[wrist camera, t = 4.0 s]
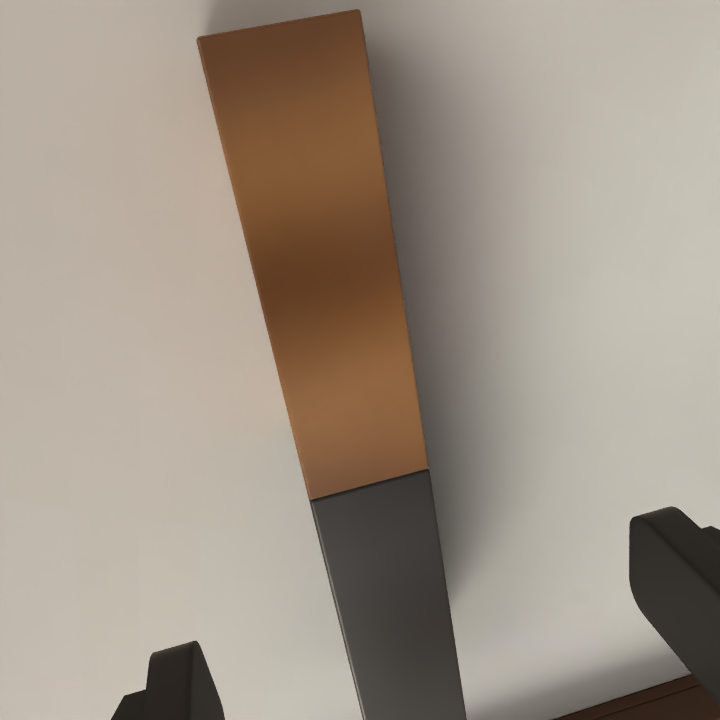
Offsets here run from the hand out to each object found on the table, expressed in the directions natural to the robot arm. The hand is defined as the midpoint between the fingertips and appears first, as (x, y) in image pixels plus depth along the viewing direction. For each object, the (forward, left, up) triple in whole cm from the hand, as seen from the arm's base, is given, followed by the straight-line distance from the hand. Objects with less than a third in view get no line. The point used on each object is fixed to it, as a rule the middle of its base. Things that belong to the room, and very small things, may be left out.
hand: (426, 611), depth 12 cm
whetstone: (0, 0, -8) cm, 8 cm away
